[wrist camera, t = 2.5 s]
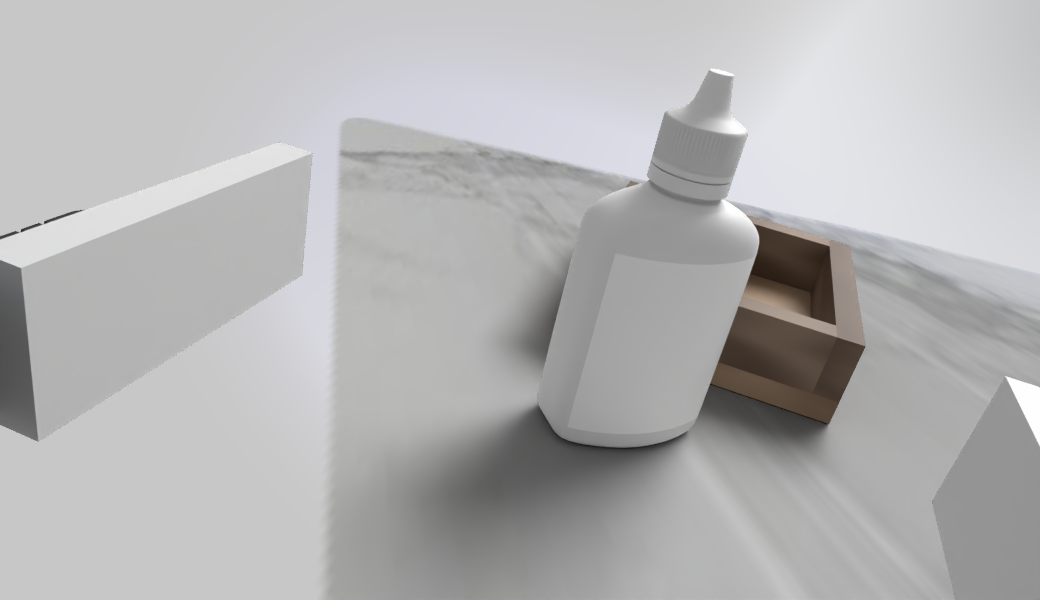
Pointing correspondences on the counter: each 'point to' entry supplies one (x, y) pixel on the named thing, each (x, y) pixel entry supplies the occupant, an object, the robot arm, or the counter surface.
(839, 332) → the walnut socket block
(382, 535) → the counter surface
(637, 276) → the eye dropper bottle
